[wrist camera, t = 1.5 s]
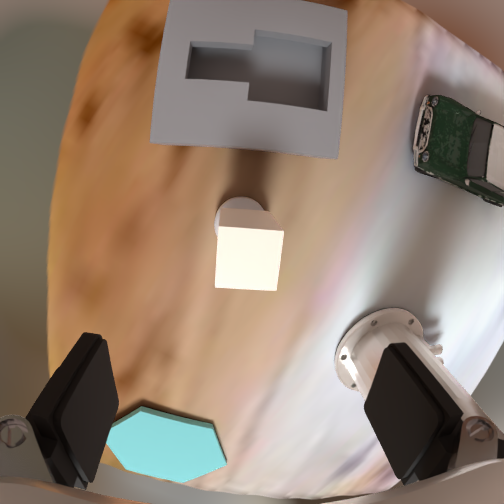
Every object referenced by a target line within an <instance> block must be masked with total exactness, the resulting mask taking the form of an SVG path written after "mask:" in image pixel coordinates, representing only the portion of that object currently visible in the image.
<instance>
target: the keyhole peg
mask: <svg viewBox="0 0 504 504" xmlns="http://www.w3.org/2000/svg"><path fill="white" fill-rule="evenodd" d="M214 227H215V232H216V235H217V237H218V243H217V259H216V276H215V287H218V288H234V289H252V290H271V291H276V290H277V282H278V275H279V267H280V259H281V251H282V243H283V235H284V230H283V229H282V228H281V226H280V225H279V224H278V222H277V221H276V220H275V218H274V217H273V216H272V214H271V213H270V212H269V211H264V209H263V208H262V207H261V205H260V204H259V203H258V202H257V201H255V200H253V199H251V198H249V197H244V196H238V197H233V198H230V199H228V200H227V201H225V202H224V203H223V204H222V205H221V206H220V207H219V209H218V211H217V213H216V217H215V223H214Z"/></svg>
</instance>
